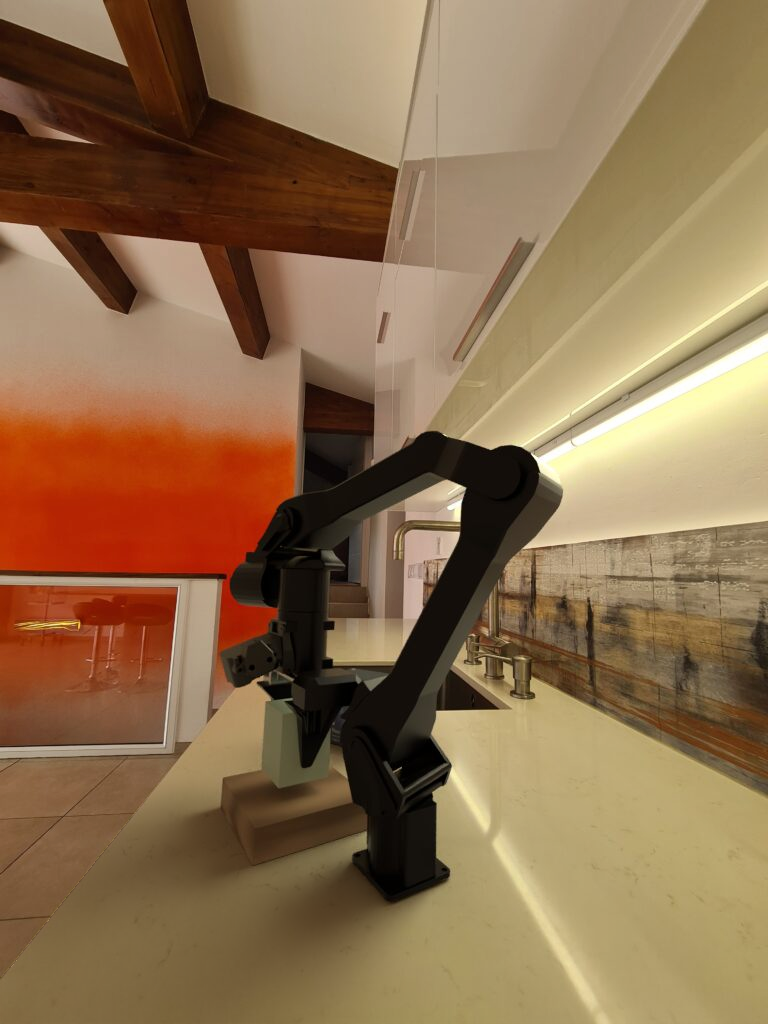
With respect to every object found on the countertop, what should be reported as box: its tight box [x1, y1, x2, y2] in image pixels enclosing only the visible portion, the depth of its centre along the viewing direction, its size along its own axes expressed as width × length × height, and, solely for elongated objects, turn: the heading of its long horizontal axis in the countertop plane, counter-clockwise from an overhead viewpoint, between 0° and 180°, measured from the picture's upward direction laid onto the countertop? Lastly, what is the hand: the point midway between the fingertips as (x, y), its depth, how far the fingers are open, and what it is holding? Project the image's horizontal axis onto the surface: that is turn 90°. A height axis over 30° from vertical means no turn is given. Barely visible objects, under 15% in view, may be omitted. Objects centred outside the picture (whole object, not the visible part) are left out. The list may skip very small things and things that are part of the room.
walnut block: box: [220, 763, 367, 866], centre depth 48 cm, size 12×12×3 cm
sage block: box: [260, 698, 331, 788], centre depth 49 cm, size 6×6×7 cm
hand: (295, 757), depth 49 cm, fingers closed on sage block, 5 cm apart
